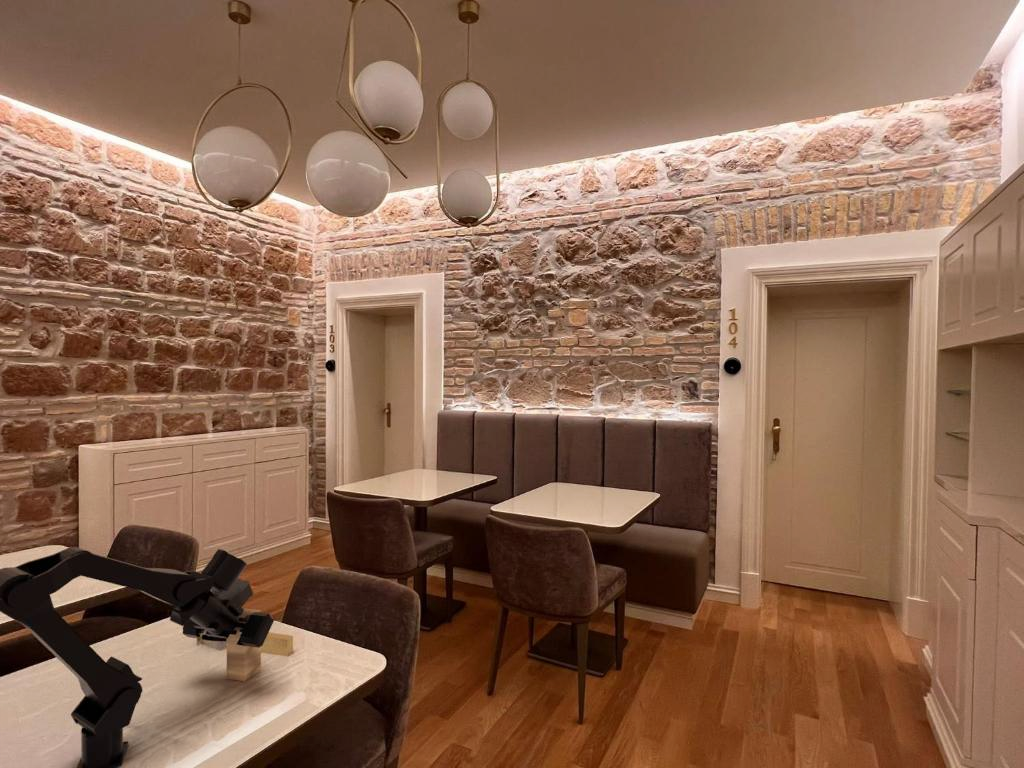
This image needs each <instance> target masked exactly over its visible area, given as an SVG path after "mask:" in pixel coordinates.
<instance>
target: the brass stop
mask: <svg viewBox="0 0 1024 768" xmlns="http://www.w3.org/2000/svg"><path fill="white" fill-rule="evenodd" d="M261 653H263V654H264V653H265V654H271V655H277V656H283V657H289V656H290V655H291V654H292V653H294V636H293V635H292V634H291V635H290V634H289V635H288V634H284V633H276V632H270V631H269V633H268V635H267V637H266V639H265V641H264V643H263V645H262V646H261Z"/></svg>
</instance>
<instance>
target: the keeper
mask: <svg viewBox="0 0 1024 768" xmlns="http://www.w3.org/2000/svg"><path fill="white" fill-rule="evenodd" d="M242 608H243V607H242ZM243 609H244V611H243V613H242V615H239V617H242V618H244V617H245V616H247V615H251V614H253V613H254V612H260V613H262V610H260V609H253V608H252V609H251V608H243ZM244 623H245V622H244ZM241 634H242V633H239V630H238V632H237V634H236V635H229V637H228V639H227V648H226V679H228V680H234V681H239V682H246V681H247V680H249V679H251V678H252V677H253V676H255V674H257V673H259V671H261V670H262V652H261V647H259V648H257V647H251V646H242V645H237V642H238V640H239V638H240V635H241Z"/></svg>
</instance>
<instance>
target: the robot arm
mask: <svg viewBox="0 0 1024 768" xmlns="http://www.w3.org/2000/svg"><path fill="white" fill-rule="evenodd" d="M247 566H248V564H247V562H246V561H244V560H243V559H241V558H239V557H237V556H235V555H233V554H231V553H229V552H227V551H226V550H225V549H220V548H218V549H216V551H215V553H214V554H213V556H212V558H211V559H210V560H209V561H208V563H207V564H206V566H205V567H204V568H203V569H202V571H201V572H198V571H195V570H186V571H180V570H177V569H173V568H172V569H171V568H162V567H161V568H159V567H153V568H152V567H149V568H148V567H142V566H139V565H135V564H131V563H128V562H125V561H121V560H117V559H114V558H110V557H107V556H103V555H99V554H96V553H93V552H91V551H89V550H86V549H83V548H81V547H77V546H70V547H67V548H65V549H63V550H61V551H58V552H56V553H53V554H49V555H47V556H44V557H40V558H37V559H33V560H30V561H27V562H24V563H22V564H19V565H17V566H13V567H11V566H10V567H3V568H0V613H1V614H3V615H5V616H7V617H8V618H11V619H12V620H14V621H16V622H18V623H19V624H21V625H22V626H23V627H24V628H26V629H27V630H28V631H29V633H31V634H32V636H34V637H35V638H36V639H37V641H39V642H40V643H41V644H42V645H43V646H44V647H45V648H46V649H47V650H48V651H49V652H51V654H53V656H54V657H56V658H57V660H58V661H59V662H61V663H62V664H63V666H65V667H66V668H67V669H68V670H69V671H70V672H71V673H72V674H73V675H74V676H75V677H76V678H77V679H78V682H79V686H80V689H81V691H82V692H83V694H84V697H82V699H81V700H80V701H79V702H78V704H77V705H76V706H75V708H74V709H73V711H71V714H70V716H71V719H72V720H73V722H74V723H75V724H77V725H78V726H80V727H82V728H81V729H80V735H81V736H80V741H81V742H80V743H81V746H80V747H81V751H80V752H81V758H80V760H79V762H78V764H77V767H76V768H117V767H121V766H123V765H122V764H123V763H124V760H125V756H126V753H127V750H128V747H129V741H128V740H126V741H124V735H123V733H124V728H126V727H127V726H129V725H130V723H131V721H132V719H133V715H134V712H135V709H136V705H137V704H138V703H139V701H140V699H141V697H142V696H141V695H142V693H143V686H142V685H141V683H140V681H142V680H143V677H141V676H139V675H137V674H136V673H134V671H133V670H132V668H131V666H130V665H129V663H126V662H124V661H122V660H120V659H118V658H116V657H114V656H112V655H111V656H110V657H109V658H108V659H107V660H104V659H103V657H102V656H100V655H99V654H98V653H97V651H95V650H94V649H93V647H91V645H90V644H89V643H87V642H86V640H85V639H84V638H83V637H82V636H80V634H79V633H78V632H77V631H76V630H75V629H74V628H73V627H72V626H71V625H70V624H69V623H68V622H67V621H66V620H65V619H64V618H63V617H62V616H61V615H60V614H59V613H58V611H57V610H56V609H55V607H54V603H53V600H52V597H51V595H52V594H54V593H57V592H59V590H61V589H62V588H64V587H66V586H67V584H69V583H70V582H71V581H73V580H75V579H78V578H79V577H85V578H89V579H93V580H97V581H101V582H105V583H109V584H113V585H117V586H121V587H125V588H128V589H132V590H133V589H134V590H137V591H140V592H141V593H143V594H144V595H147V596H149V597H151V598H154V599H156V600H158V601H160V602H163V603H165V604H168V605H171V606H173V607H175V608H173V609H172V612H171V614H170V617H169V621H170V622H173V623H175V624H177V625H179V626H181V627H182V635H184V636H185V637H187V638H192V639H196V640H197V639H198V638H199V637H200V634H203V635H202V639H203V640H208V641H227V639H228V637H229V635H236V634H237V632H238V630H239V633H242V634H241V635H240V638H239V640H238V642H237V645H242V646H251V647H257V648H259V647H261V646H262V645H263V643H264V641H265V639H266V637H267V635H268V633H269V632H270V630H271V628H272V626H273V624H274V622H275V618H274V616H272V615H271V614H270V613H267V612H261V613H260V612H254V613H253V614H251V615H247V616H245V617H244V618H242V617H239V615H242V613H243V611H244V609H243V606H244V605H245V604H246V603H247V602H248V600H249V599H250V598H251V597H253V595H254V591H253V588H252V586H251V584H250V582H249V580H244V579H243V580H242V579H241V580H237V578H240V576H241V574H242V573H243V572H244V570H245V569H246V568H247ZM211 589H213V590H214V593H212V592H211V591H210V590H211ZM244 622H245V623H244ZM198 633H199V634H198Z"/></svg>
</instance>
